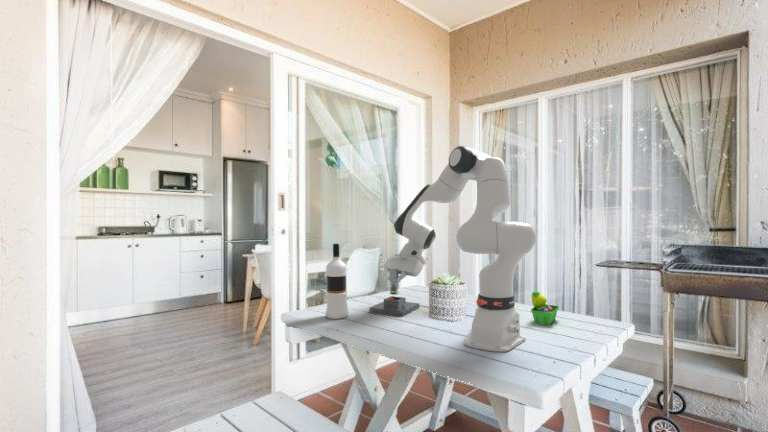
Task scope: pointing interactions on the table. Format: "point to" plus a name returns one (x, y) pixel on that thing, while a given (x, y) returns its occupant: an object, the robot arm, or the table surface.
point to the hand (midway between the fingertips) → (393, 280)
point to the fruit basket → (542, 309)
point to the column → (394, 282)
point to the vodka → (336, 287)
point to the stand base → (394, 306)
